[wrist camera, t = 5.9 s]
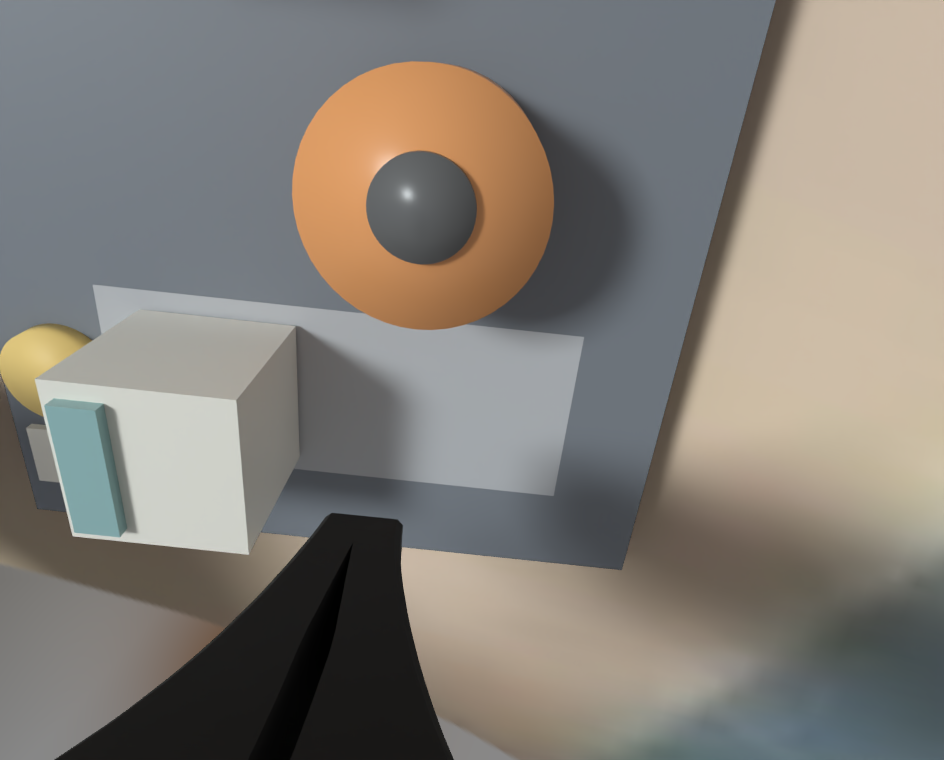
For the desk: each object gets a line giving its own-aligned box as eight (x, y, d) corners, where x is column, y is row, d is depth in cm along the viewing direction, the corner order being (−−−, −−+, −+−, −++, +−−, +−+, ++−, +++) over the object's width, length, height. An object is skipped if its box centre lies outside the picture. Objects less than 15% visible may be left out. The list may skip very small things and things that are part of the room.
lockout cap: (334, 271, 15) (293, 321, 12) (333, 52, 13) (283, 46, 10) (528, 291, 15) (535, 345, 12) (558, 75, 13) (575, 76, 10)
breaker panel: (62, 485, 20) (24, 521, 19) (-247, -802, 10) (-400, -979, 8) (615, 543, 20) (625, 584, 19) (927, -666, 10) (1013, -814, 8)
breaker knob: (159, 442, 18) (64, 545, 14) (139, 309, 16) (24, 385, 12) (300, 456, 18) (243, 564, 14) (295, 326, 16) (230, 407, 12)
